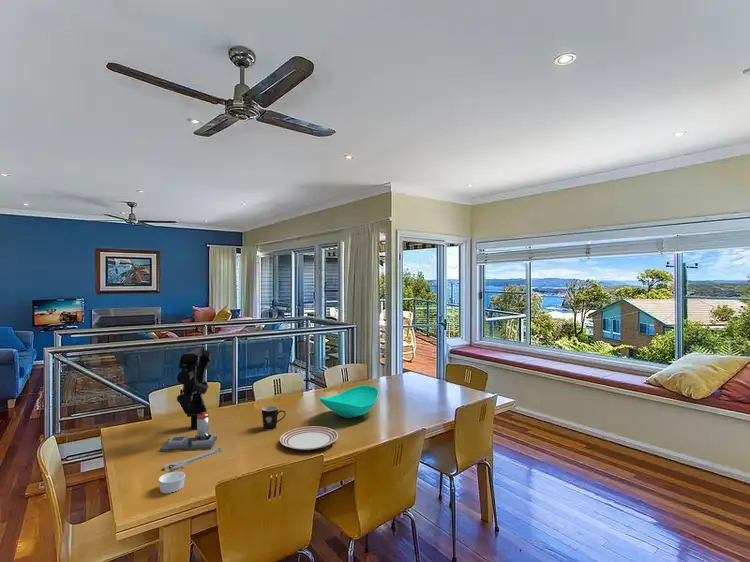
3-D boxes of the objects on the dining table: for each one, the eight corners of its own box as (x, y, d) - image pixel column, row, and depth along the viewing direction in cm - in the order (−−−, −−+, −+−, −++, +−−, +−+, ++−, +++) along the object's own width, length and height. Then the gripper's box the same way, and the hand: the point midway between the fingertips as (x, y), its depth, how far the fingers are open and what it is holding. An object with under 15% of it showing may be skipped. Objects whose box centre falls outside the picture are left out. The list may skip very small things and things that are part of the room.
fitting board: (168, 441, 195) (168, 434, 195) (217, 439, 198) (217, 432, 198) (159, 451, 183) (159, 444, 183) (211, 448, 186) (211, 441, 186)
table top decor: (342, 431, 210) (343, 405, 211) (307, 419, 228) (307, 395, 228) (390, 412, 241) (390, 390, 241) (355, 403, 259) (355, 382, 259)
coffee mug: (257, 429, 212) (258, 409, 212) (267, 423, 220) (267, 405, 220) (277, 432, 208) (277, 412, 208) (286, 426, 216) (286, 407, 216)
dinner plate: (286, 458, 177) (286, 451, 177) (274, 436, 202) (275, 430, 202) (345, 449, 188) (346, 442, 188) (328, 429, 213) (328, 423, 213)
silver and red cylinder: (199, 439, 194) (198, 412, 194) (210, 439, 194) (209, 411, 194) (195, 444, 189) (195, 416, 189) (207, 443, 189) (207, 415, 189)
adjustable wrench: (219, 450, 186) (219, 446, 186) (227, 454, 182) (227, 450, 182) (162, 469, 167) (162, 464, 167) (169, 474, 163) (169, 469, 163)
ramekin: (167, 482, 156) (167, 470, 156) (189, 483, 155) (190, 471, 155) (152, 494, 147) (153, 481, 147) (176, 495, 146) (176, 483, 146)
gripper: (202, 382, 192) (201, 416, 192) (211, 374, 211) (211, 404, 210) (176, 383, 190) (176, 417, 190) (188, 374, 209) (188, 405, 209)
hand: (189, 410), depth 200 cm, fingers open, 9 cm apart
